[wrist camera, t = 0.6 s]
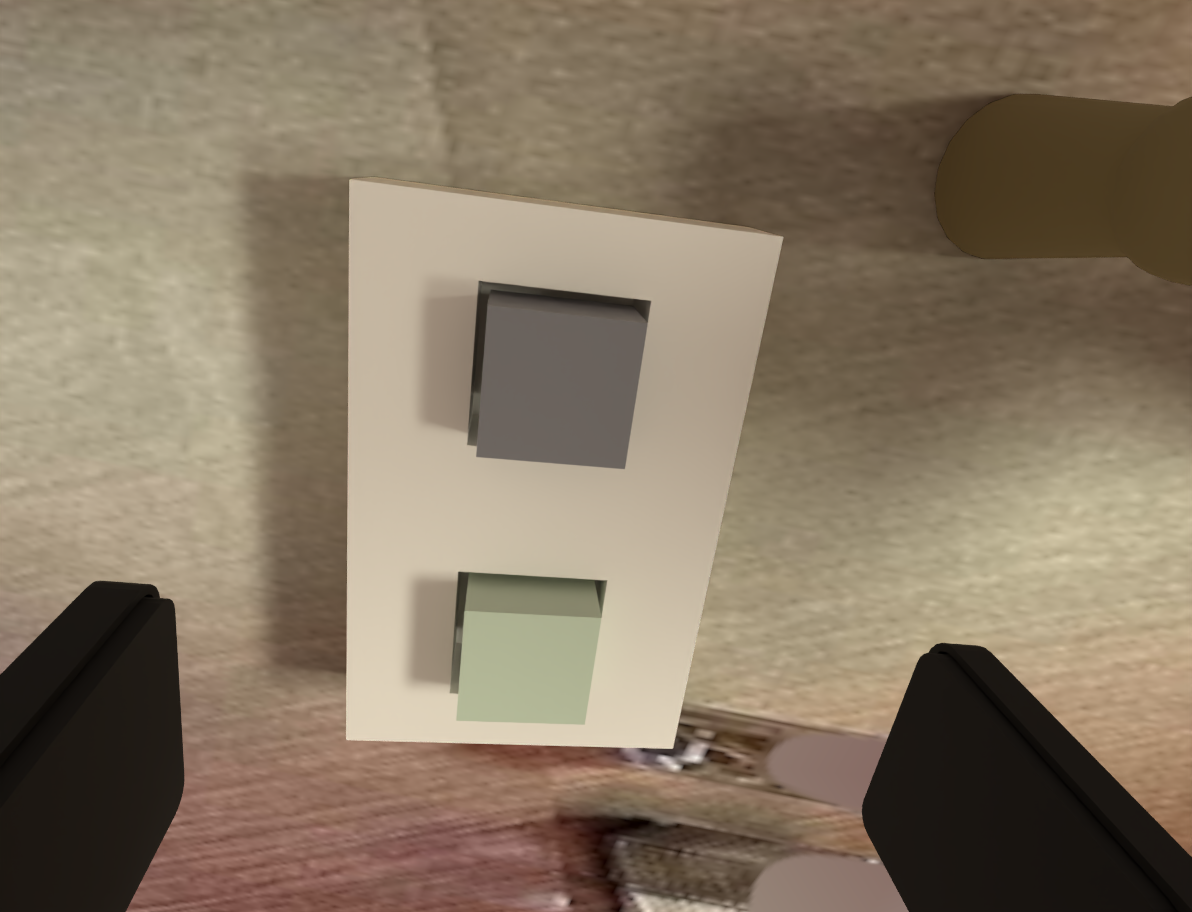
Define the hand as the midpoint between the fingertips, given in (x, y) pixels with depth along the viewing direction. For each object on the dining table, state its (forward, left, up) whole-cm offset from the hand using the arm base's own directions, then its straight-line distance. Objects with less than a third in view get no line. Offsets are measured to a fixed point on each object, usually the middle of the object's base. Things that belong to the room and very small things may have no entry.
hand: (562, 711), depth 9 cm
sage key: (-1, +11, -18) cm, 21 cm away
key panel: (-1, +6, -21) cm, 22 cm away
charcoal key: (-1, 0, -18) cm, 18 cm away
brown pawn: (-18, -8, -21) cm, 29 cm away
